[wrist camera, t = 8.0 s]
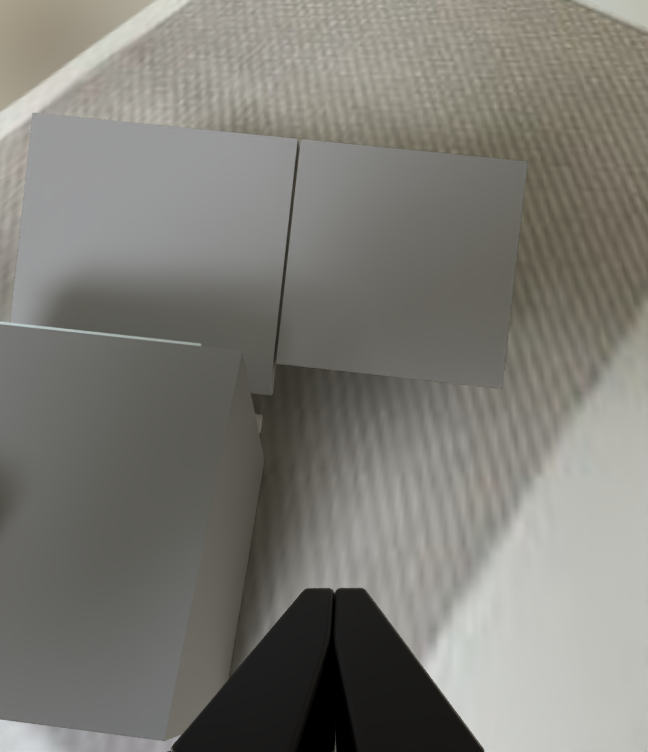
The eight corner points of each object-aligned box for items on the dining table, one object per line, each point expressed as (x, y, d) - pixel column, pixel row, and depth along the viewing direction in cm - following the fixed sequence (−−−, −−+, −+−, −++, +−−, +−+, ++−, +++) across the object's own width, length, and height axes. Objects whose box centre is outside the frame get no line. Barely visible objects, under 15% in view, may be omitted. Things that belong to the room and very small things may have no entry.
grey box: (221, 719, 18) (150, 745, 10) (-43, 684, 18) (-319, 683, 10) (267, 443, 22) (242, 304, 14) (48, 418, 22) (-100, 267, 14)
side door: (498, 420, 19) (527, 161, 19) (5, 365, 19) (32, 112, 19) (491, 418, 20) (519, 171, 20) (20, 366, 20) (46, 124, 20)
